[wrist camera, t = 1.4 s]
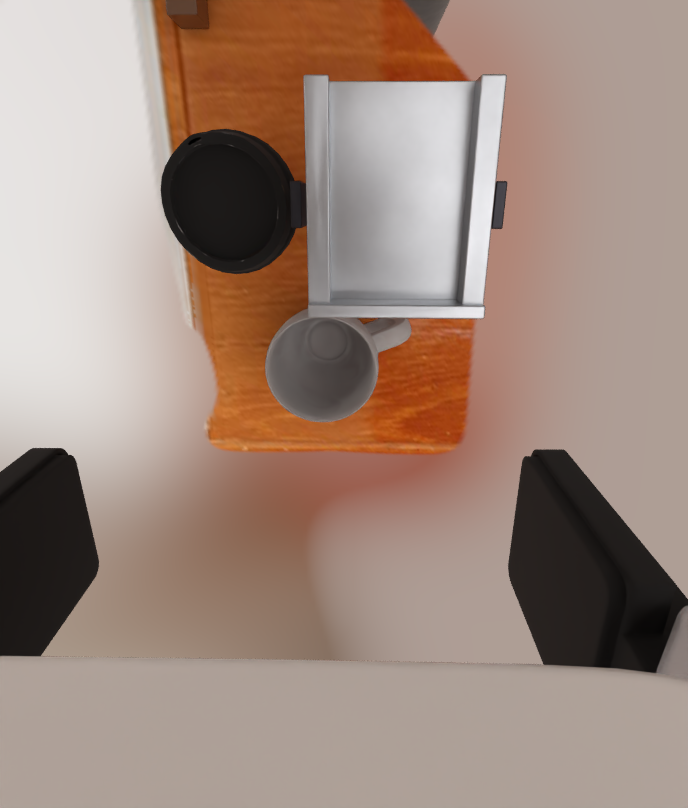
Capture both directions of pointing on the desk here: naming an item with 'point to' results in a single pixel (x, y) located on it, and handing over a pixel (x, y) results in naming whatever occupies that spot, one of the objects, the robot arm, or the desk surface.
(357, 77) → the desk surface
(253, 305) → the desk surface
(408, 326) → the mug
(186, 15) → the key
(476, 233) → the silver letter tray
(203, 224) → the coffee cup
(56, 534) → the robot arm
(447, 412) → the desk surface
